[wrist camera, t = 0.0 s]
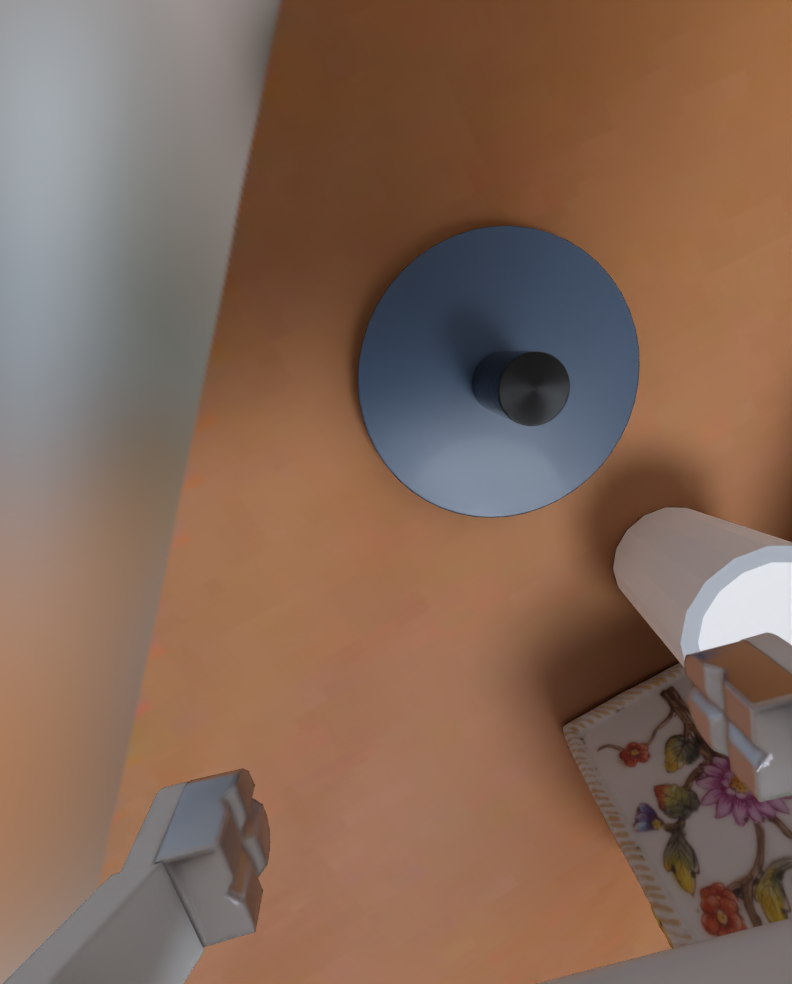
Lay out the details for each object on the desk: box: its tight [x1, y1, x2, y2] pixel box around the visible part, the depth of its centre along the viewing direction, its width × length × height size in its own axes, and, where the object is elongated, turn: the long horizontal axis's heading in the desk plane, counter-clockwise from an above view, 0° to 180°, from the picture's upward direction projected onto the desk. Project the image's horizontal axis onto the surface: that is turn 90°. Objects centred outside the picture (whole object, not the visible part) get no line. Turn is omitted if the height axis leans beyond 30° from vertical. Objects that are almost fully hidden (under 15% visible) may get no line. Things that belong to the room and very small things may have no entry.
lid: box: [358, 226, 639, 518], centre depth 21 cm, size 12×12×6 cm
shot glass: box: [613, 507, 792, 667], centre depth 24 cm, size 7×7×7 cm
